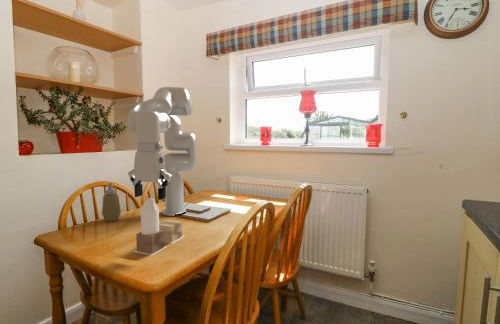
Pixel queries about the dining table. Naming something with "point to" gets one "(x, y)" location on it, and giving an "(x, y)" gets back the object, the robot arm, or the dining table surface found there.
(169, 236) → the oak block
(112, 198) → the squeeze bottle
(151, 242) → the walnut block
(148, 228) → the white bottle
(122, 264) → the dining table surface
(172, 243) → the build board
